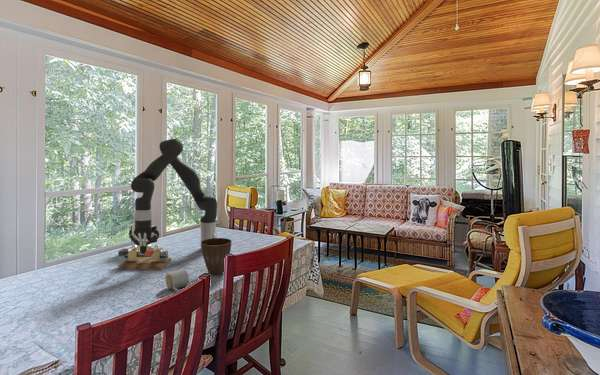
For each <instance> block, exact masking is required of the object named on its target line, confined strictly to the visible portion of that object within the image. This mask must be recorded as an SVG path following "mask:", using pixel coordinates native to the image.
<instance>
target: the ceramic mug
mask: <svg viewBox="0 0 600 375" xmlns="http://www.w3.org/2000/svg"><path fill="white" fill-rule="evenodd" d="M189 284H190V277H189V273H188V272H187V269H185V268H182V269H177V270H175V271H172V272H168V273H167V274H166V275H165V285H166V288H167V289H168V290H174V291H175V292H176V293H178V292H177V291H179V290H180V289H181V288H186V287H187V286H189Z"/></svg>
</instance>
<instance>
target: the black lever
mask: <svg viewBox="0 0 600 375" xmlns="http://www.w3.org/2000/svg"><path fill="white" fill-rule="evenodd" d="M137 246H138V245H136V244H134V245H131V246H130V247H129V248H122V249H120V250H119V251H117V252H118V254H117V255H118V257H124V256H125V255H126V254H128V252H129V251H131V250H132V249H135V248H137Z"/></svg>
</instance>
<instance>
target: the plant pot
mask: <svg viewBox="0 0 600 375" xmlns="http://www.w3.org/2000/svg"><path fill="white" fill-rule="evenodd" d="M201 248H202V250H201V252H202V258H203V260H204V263H205V267H206V270H207V271H208V274H209V275H211V276H220V275H223V274H224V273H225V271H224V258H225V255H226V254H231V250H232V249H231V248H232V239H231V238H223V237H217V238H211V239H206V240H203V241H201V240H200V249H201ZM223 272H224V273H223Z"/></svg>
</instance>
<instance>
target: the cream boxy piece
mask: <svg viewBox="0 0 600 375" xmlns="http://www.w3.org/2000/svg"><path fill="white" fill-rule="evenodd" d="M151 226H152V231H153V233H154V234H157V236H156V237H155V239H154V240H153V241H152V242H151V243H150V244H149V245H147V250H148V249H153V248H154V246H153V243H157V242H158V240H159V237H160V233H159V232H160V231H159V230H158V229H157V225H152V224H151ZM134 230H135V224H134V225H130V229H129V231H128V237H129V236H130V235H131V234H133V233H134ZM151 236H152V235H150V237H149V238H148V240H147V242H149V241H150V239H151V238H152V237H151ZM135 238H136V239H137V240H138V241H139V239H138V238H137V237H136V235H135ZM130 242H131V243H134V242H133V241H132V240H131V239H130ZM137 248H140V246H139V245H137Z"/></svg>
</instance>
